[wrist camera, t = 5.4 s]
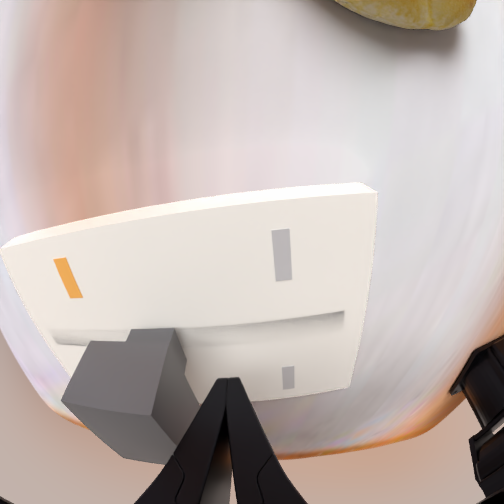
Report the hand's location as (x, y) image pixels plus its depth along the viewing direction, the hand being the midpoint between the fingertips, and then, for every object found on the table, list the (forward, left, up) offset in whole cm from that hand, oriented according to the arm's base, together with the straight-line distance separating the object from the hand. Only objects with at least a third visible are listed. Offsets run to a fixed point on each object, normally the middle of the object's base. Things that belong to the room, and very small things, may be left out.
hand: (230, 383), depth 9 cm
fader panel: (0, +3, -4) cm, 5 cm away
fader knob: (0, +3, -2) cm, 4 cm away
